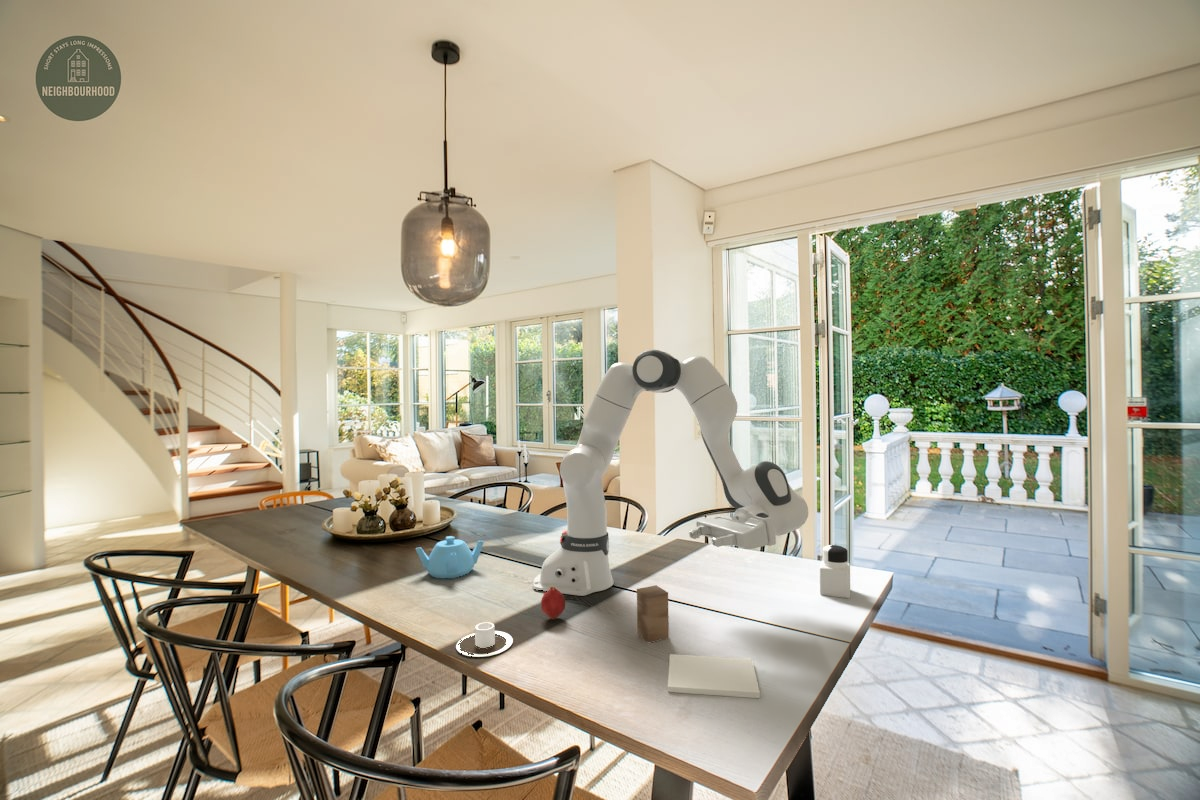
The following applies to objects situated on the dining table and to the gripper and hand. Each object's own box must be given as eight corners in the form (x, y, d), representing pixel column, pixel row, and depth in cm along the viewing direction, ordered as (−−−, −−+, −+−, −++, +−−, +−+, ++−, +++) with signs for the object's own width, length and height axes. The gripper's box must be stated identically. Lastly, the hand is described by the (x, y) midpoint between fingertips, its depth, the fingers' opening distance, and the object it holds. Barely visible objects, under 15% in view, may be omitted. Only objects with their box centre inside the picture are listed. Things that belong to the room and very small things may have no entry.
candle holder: (501, 662, 110) (501, 641, 110) (446, 658, 112) (445, 637, 112) (520, 635, 122) (520, 616, 122) (469, 632, 124) (469, 613, 124)
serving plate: (667, 691, 98) (667, 686, 98) (669, 659, 110) (669, 654, 110) (760, 698, 95) (759, 692, 95) (751, 663, 107) (751, 658, 107)
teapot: (487, 568, 168) (487, 533, 168) (454, 584, 155) (453, 546, 154) (449, 562, 175) (448, 528, 175) (414, 576, 161) (413, 540, 161)
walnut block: (637, 633, 121) (636, 589, 121) (656, 629, 123) (656, 585, 123) (648, 642, 117) (648, 596, 117) (668, 638, 119) (668, 592, 119)
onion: (541, 614, 132) (540, 581, 132) (565, 613, 133) (564, 580, 133) (541, 624, 127) (540, 590, 126) (565, 623, 127) (565, 589, 127)
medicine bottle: (850, 589, 145) (849, 544, 145) (850, 599, 139) (849, 552, 138) (821, 585, 148) (821, 541, 148) (820, 595, 142) (819, 549, 141)
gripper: (722, 506, 141) (676, 518, 135) (776, 518, 122) (726, 533, 117) (726, 530, 141) (680, 543, 136) (781, 546, 122) (730, 562, 117)
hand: (702, 538), depth 126 cm, fingers open, 8 cm apart
